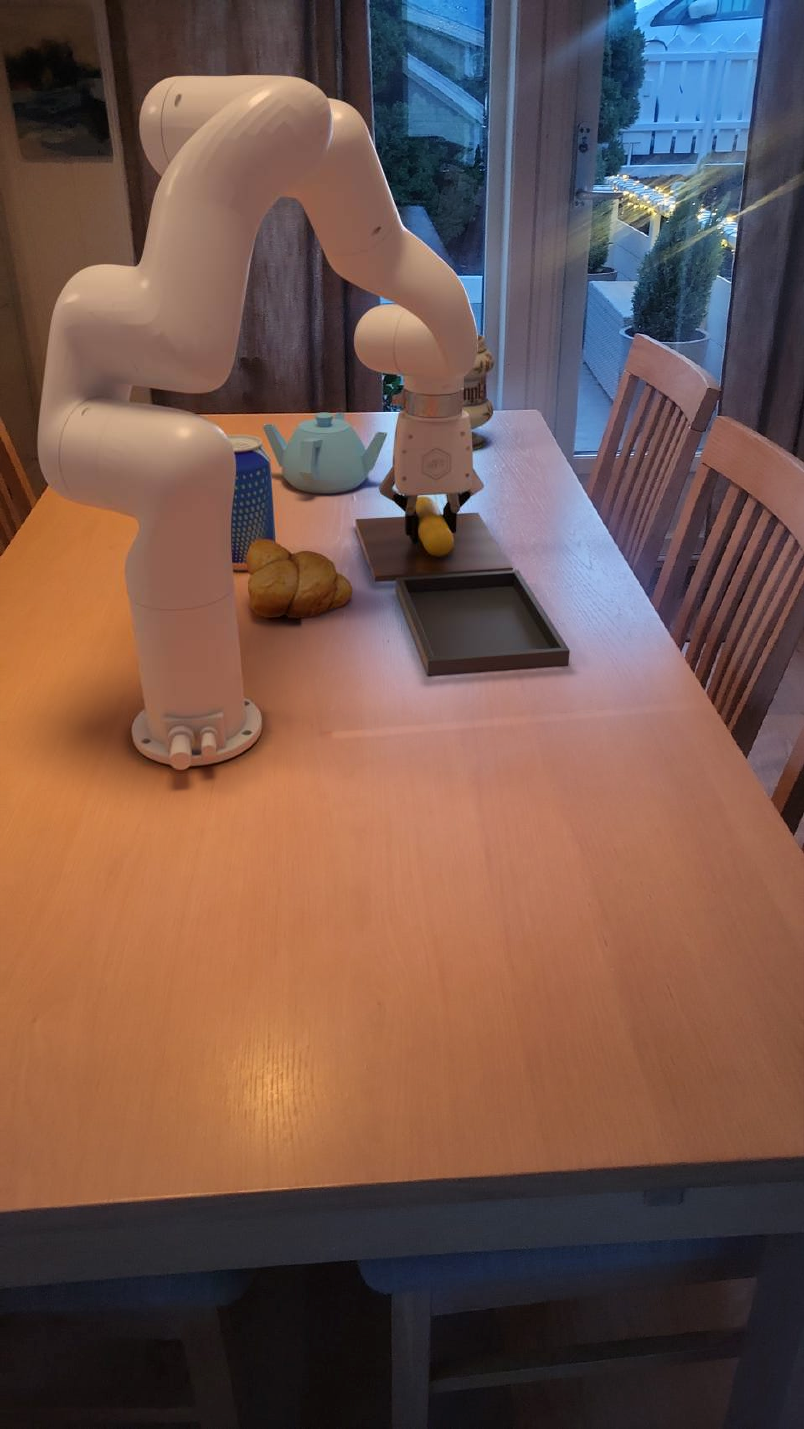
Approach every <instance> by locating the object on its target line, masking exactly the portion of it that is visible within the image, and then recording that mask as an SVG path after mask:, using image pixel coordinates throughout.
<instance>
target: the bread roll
mask: <svg viewBox="0 0 804 1429" xmlns="http://www.w3.org/2000/svg"><path fill="white" fill-rule="evenodd" d="M246 565H247V570H246V571H247V573H248V574H249V575H250V576H249V578H248V581H247V584H248V585H247V590H248V591H247V592H248V596H249V604H248V605H249V607H250V609H251V610H252V611H253V612H254V613H256V614H257V615H259V616H261V617H264V618H266V619H267V618H269V619H270V618H279V617H280V618H281V617H282V616H283V615H286V616H287V617H288V618H296V619H302V618H306V617H307V618H309V617H310V618H311V617H315V616H316V615H318V614H321V613H324V612H325V611H331V610H334V609H337V608H340V607H342V606H344V605H345V604H347V603H348V602H349V601H350V599H351V598H352V594H353V585H352V584H351V582H350V580H349V579H348V578H347V577H346V576H344V574H341V573H338V572H337V569H336V565H335V563H334V562H333V561H332V560H331V559H329V558H328V557H327V556H325V555H324V554H321V553H318V552H315V551H311V550H302V551H298V552H293V553H292V552H290V551H289V549H287V548H286V547H284V546H282V545H281V544H280V543H277V542H275V541H273V540H270V539H264V538H263V539H257V540H255V541H254V542H252V543H251V545H250V547H249V550H248V553H247V556H246Z"/></svg>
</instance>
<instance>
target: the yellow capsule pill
mask: <svg viewBox="0 0 804 1429" xmlns="http://www.w3.org/2000/svg"><path fill="white" fill-rule="evenodd" d="M416 512H417V514H418V535H419V537H420V539H421V541H422V543H423V545H424V548H425V549H426V551H427V552H428V553H429V554H431V555H433V556H436V557H440V556H444V555H446V554H448V553H449V552H450V551H451V549H452V547H453V544H454V538H453V535H452V533H451V531H450V529H449V527H448V525H447V523H446V521H445V520H444V518H443V516H442V514H443V513H442V512H441V511H440V509H439V507H438V505H437V503H436V502H435V500H434V499H432V498H431V497H429V496H427V495H420V496H418V498H417V503H416Z"/></svg>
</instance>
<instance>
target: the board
mask: <svg viewBox="0 0 804 1429" xmlns="http://www.w3.org/2000/svg"><path fill="white" fill-rule="evenodd" d="M441 514H442V516H443V513H441ZM354 522H355V531H356V534H357V537H358V541H359V543H360V547H361V549H362V552H363V555H364V558H365V561H366V563H367V564H368V565H369V568H370V571H371V574H372V577H373V580H374V582H392V581H396V578H400V577H416V576H432V575H448V574H464V573H480V572H496V571H512V570H514V567H513V565H512V564H511V562H510V560H509V559H508V557H507V556H506V554H505V553H504V551H503V549H502V547H501V546H500V545H499V543H498V541H497V540H496V539H495V537H494V535H493V534H492V532H491V531H490V529H489V527H488V525H487V523H485V521H484V519H483V518H482V516H481V515H480V512H461V513H457V522H456V533H452V535H453V538H454V544H453V547H452V549H451V551H450V552H449V553H448V554H446V555H444V556H440V557H436V556H433V555H431V554H429V553H428V552H427V551H426V549H425V548H424V545H423V543H422V541H421V539H420V537H419V535H418V542H417V543H415V544H413V543H412V541H411V539H410V536H409V535H408V536H406V533H405V516H390V517H387V516H386V517H370V518H368V517H367V518H355V520H354Z"/></svg>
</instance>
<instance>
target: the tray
mask: <svg viewBox="0 0 804 1429" xmlns="http://www.w3.org/2000/svg"><path fill="white" fill-rule="evenodd" d="M395 593H396V595H397V598H398V600H399V603H400V606H401V609H402V611H403V613H404V616H405V619H406V622H407V625H408V627H409V630H410V632H411V636H412V638H413V640H414V643H415V646H416V648H417V651H418V654H419V657H420V659H421V662H422V665H423V668H424V670H425V672H426V675H427V677H435V676H448V675H462V674H475V673H476V674H477V673H488V672H502V671H514V670H526V669H527V670H528V669H540V668H554V667H567V666H569V664H570V663H569V662H570V654H571V652H570V651H571V650H570V648H569V647H568V645H567V643H566V642H565V641H564V640H563V637H562V636H561V634H560V633H559V631H558V629H557V628H556V627H555V625H554V623H553V621H552V620H551V618H549V616H548V613H547V612H546V611H545V609H544V608H543V606H542V604H541V603H540V601H539V600H538V598H537V597H536V595H535V593H534V592H533V590H532V589H531V587H530V586H529V584H528V583H527V581H526V580H525V578H524V576H523V575H522V573H521V572H520V570H519V569H515V570H514V569H513V570H512V571H496V572H480V573H464V574H448V575H432V576H416V577H400V578H396V580H395Z"/></svg>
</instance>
